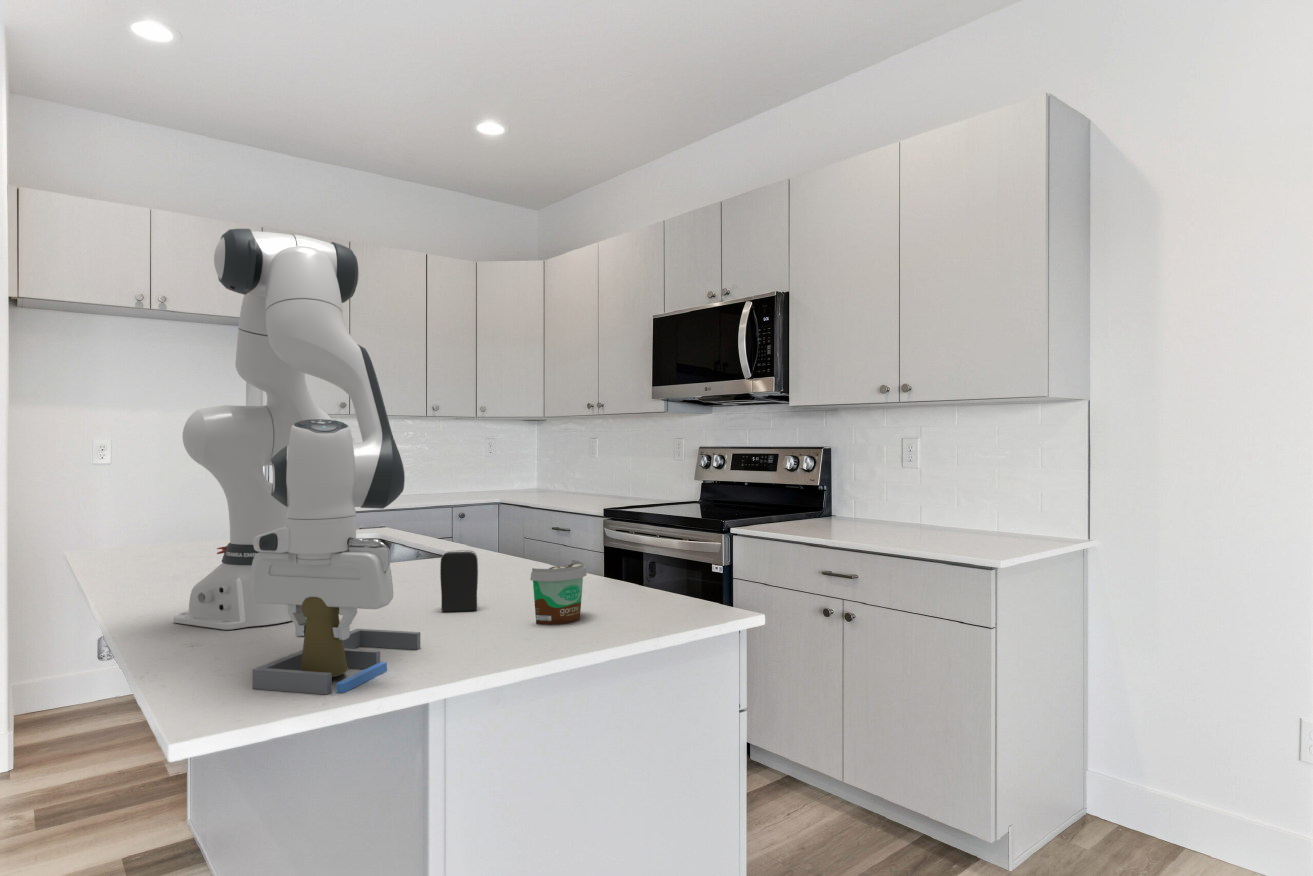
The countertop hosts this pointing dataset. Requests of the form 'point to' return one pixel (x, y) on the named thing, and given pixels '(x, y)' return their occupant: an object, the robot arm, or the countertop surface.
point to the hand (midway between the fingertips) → (322, 637)
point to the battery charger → (459, 581)
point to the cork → (322, 639)
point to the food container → (558, 593)
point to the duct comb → (291, 679)
